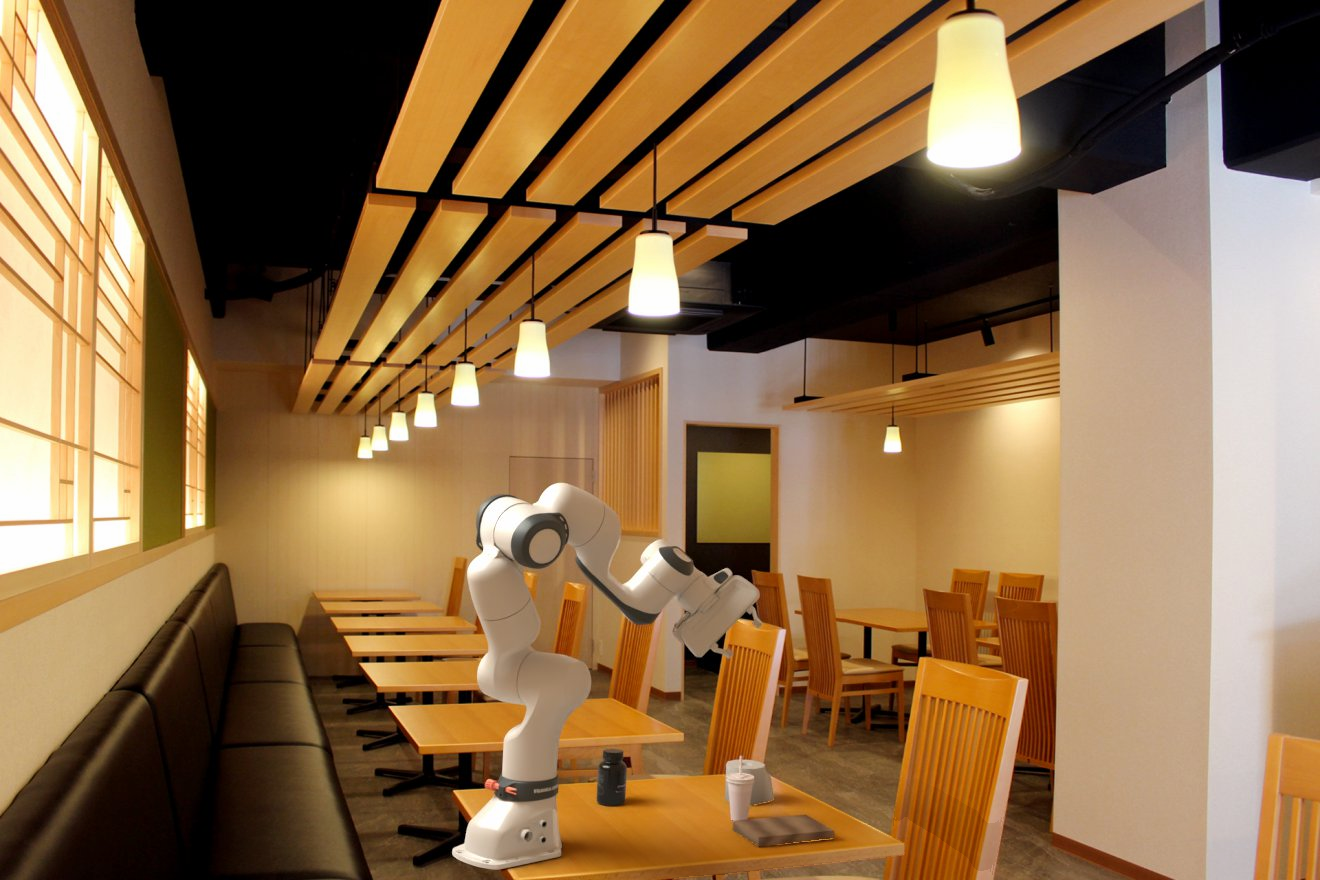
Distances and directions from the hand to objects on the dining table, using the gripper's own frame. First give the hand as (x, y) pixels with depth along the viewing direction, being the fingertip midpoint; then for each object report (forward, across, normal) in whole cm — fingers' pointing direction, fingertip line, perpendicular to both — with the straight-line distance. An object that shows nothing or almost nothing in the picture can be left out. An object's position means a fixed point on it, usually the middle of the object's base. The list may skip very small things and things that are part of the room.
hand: (746, 641), depth 232 cm
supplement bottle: (+1, -44, +29) cm, 53 cm away
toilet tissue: (+24, -21, +36) cm, 47 cm away
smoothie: (+25, -27, +20) cm, 41 cm away
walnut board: (+33, -23, +10) cm, 42 cm away
